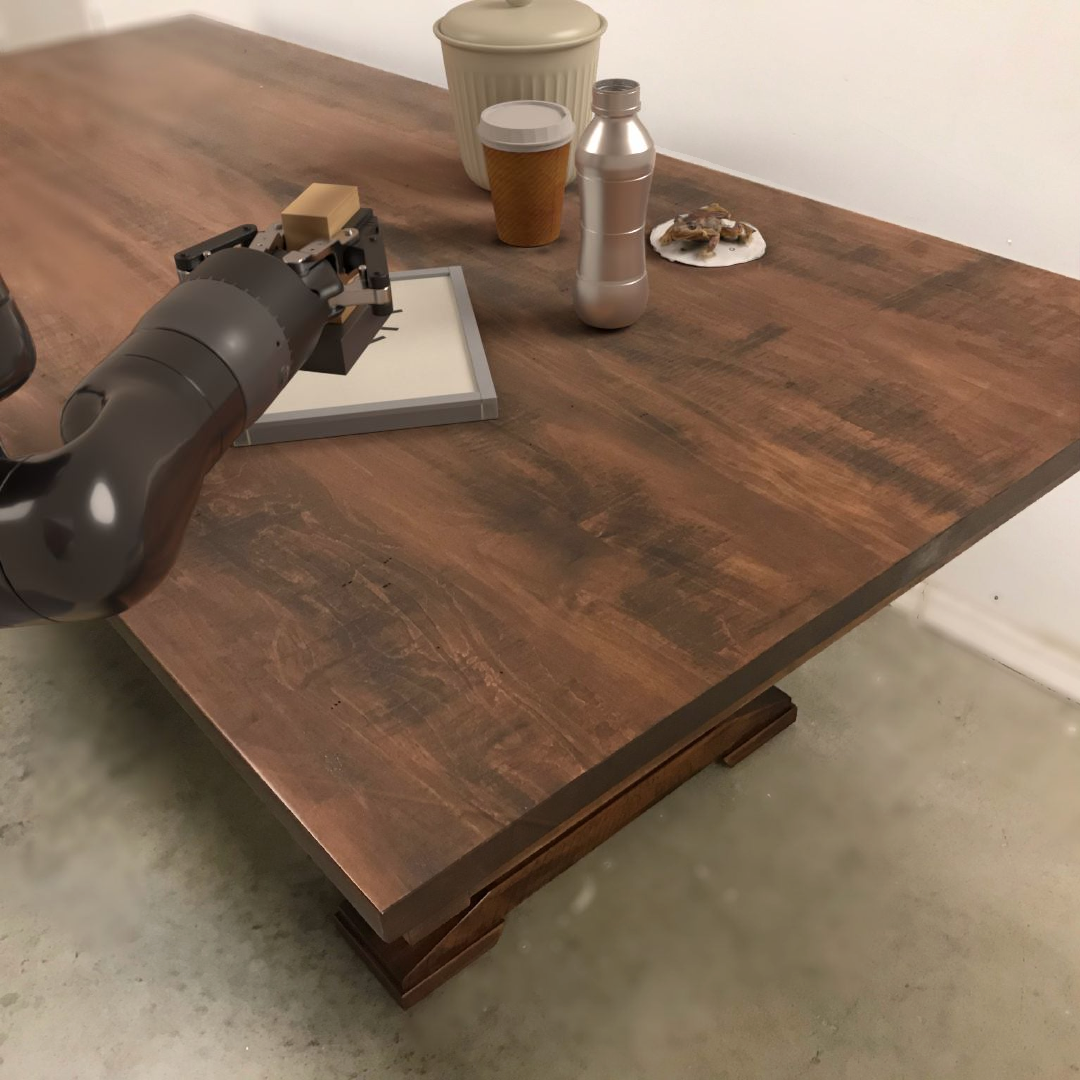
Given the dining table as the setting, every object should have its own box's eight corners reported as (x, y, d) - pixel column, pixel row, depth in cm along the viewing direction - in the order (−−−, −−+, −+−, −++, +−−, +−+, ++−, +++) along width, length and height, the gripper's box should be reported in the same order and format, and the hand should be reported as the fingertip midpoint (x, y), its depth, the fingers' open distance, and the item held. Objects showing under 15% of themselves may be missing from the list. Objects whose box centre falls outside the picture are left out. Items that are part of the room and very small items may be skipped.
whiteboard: (234, 447, 82) (229, 425, 81) (246, 304, 101) (242, 285, 100) (498, 418, 85) (496, 397, 84) (462, 284, 103) (460, 265, 102)
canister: (427, 163, 129) (411, -36, 115) (573, 144, 133) (573, -51, 120) (468, 221, 115) (454, 2, 102) (629, 197, 119) (635, -16, 106)
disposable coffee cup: (558, 259, 107) (557, 134, 100) (468, 247, 110) (460, 125, 102) (587, 221, 114) (588, 103, 107) (501, 211, 117) (496, 95, 109)
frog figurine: (723, 279, 103) (726, 241, 101) (623, 245, 109) (624, 208, 107) (790, 241, 110) (794, 204, 107) (692, 211, 116) (694, 175, 114)
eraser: (281, 368, 70) (254, 225, 64) (334, 305, 77) (314, 170, 71) (346, 376, 69) (325, 231, 63) (394, 311, 76) (379, 175, 70)
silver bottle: (560, 312, 98) (558, 79, 86) (627, 298, 100) (635, 68, 88) (591, 344, 94) (594, 103, 81) (661, 328, 96) (674, 90, 83)
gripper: (337, 294, 54) (442, 169, 67) (81, 269, 57) (230, 154, 70) (356, 423, 59) (451, 283, 72) (118, 395, 61) (252, 265, 74)
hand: (341, 220), depth 71 cm, fingers closed on eraser, 3 cm apart
